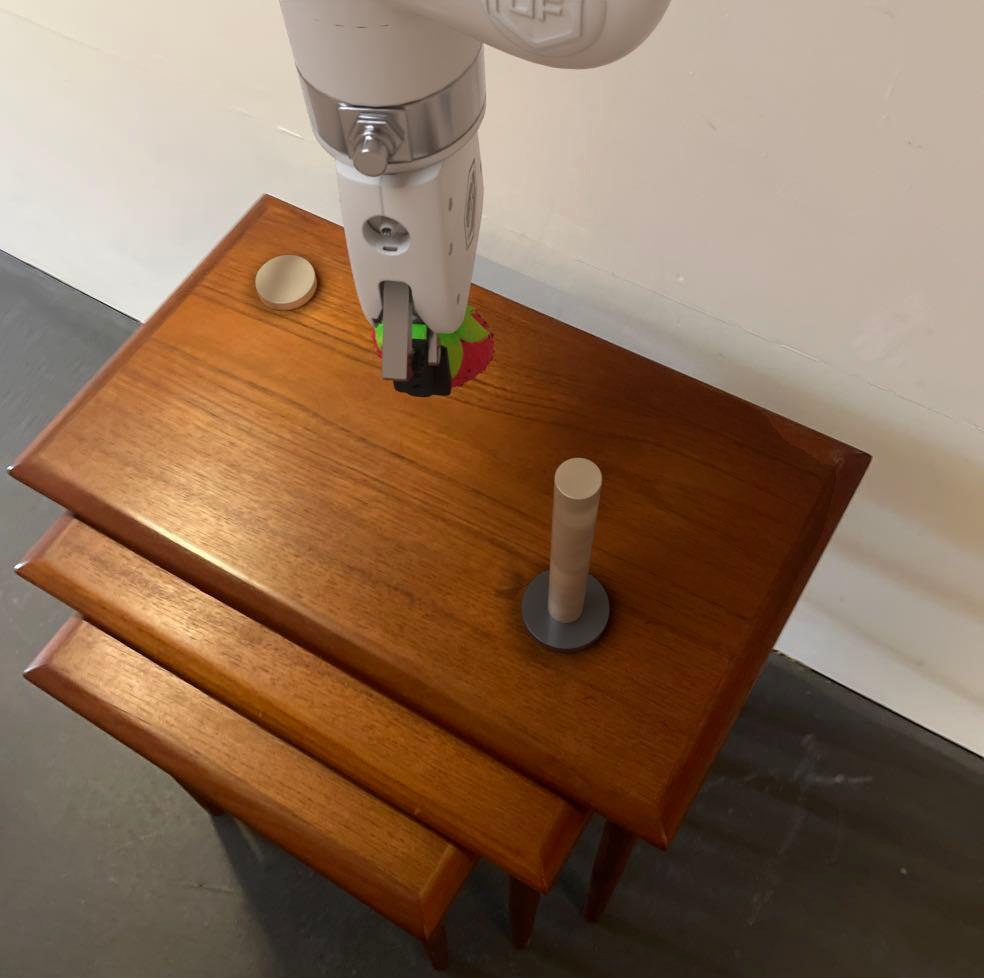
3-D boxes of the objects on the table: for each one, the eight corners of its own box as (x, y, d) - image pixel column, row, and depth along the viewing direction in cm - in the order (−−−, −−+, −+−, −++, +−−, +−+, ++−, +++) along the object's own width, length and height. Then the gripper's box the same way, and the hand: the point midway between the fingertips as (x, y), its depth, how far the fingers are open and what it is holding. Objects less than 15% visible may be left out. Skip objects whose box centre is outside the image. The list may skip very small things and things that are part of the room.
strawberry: (460, 448, 59) (446, 354, 49) (365, 389, 61) (334, 288, 52) (515, 380, 60) (512, 276, 51) (421, 325, 62) (401, 216, 53)
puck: (322, 264, 82) (320, 256, 81) (310, 312, 80) (308, 305, 79) (265, 260, 82) (262, 252, 81) (252, 308, 80) (249, 301, 79)
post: (611, 576, 68) (642, 431, 50) (605, 658, 66) (634, 537, 48) (526, 567, 69) (525, 422, 51) (516, 648, 67) (512, 525, 48)
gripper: (454, 250, 36) (477, 477, 52) (509, -61, 43) (514, 226, 59) (259, 238, 37) (342, 464, 53) (343, -64, 44) (393, 219, 60)
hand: (432, 337), depth 56 cm, fingers closed on strawberry, 6 cm apart
